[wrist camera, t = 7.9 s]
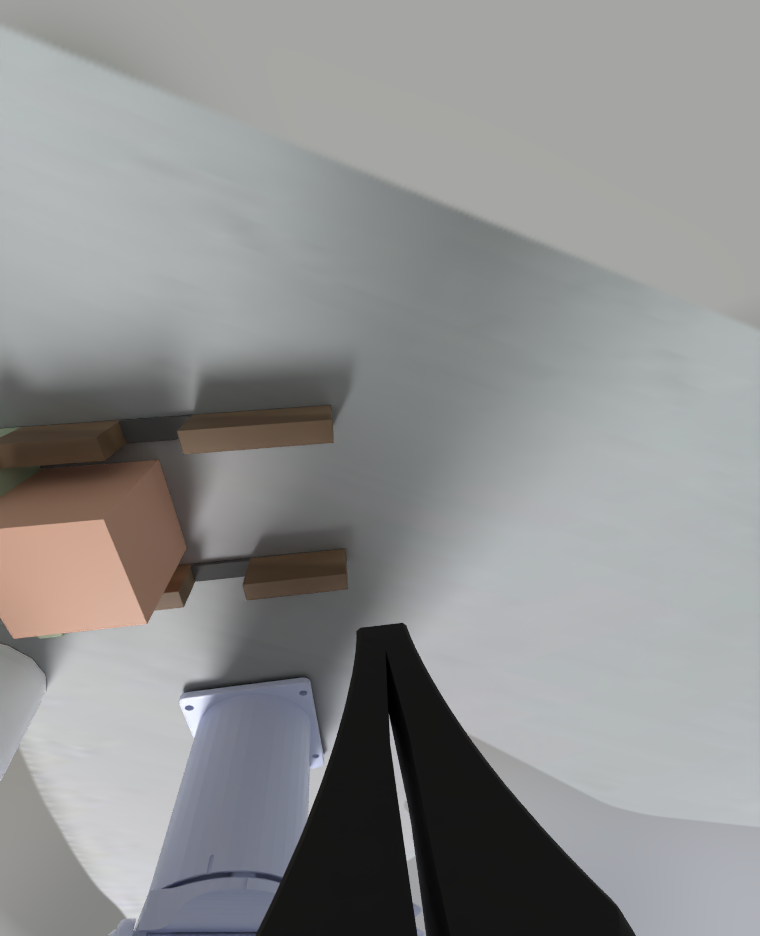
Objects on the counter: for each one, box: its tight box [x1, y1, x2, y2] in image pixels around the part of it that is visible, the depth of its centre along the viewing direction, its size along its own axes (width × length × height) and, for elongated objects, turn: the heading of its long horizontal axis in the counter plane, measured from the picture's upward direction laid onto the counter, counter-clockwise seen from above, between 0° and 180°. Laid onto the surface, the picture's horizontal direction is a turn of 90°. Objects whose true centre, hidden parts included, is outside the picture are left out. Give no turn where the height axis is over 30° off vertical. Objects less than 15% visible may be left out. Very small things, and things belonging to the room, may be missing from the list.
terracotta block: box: [0, 460, 187, 639], centre depth 17 cm, size 5×5×5 cm
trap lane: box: [0, 405, 348, 639], centre depth 18 cm, size 9×14×3 cm, turn 92°
